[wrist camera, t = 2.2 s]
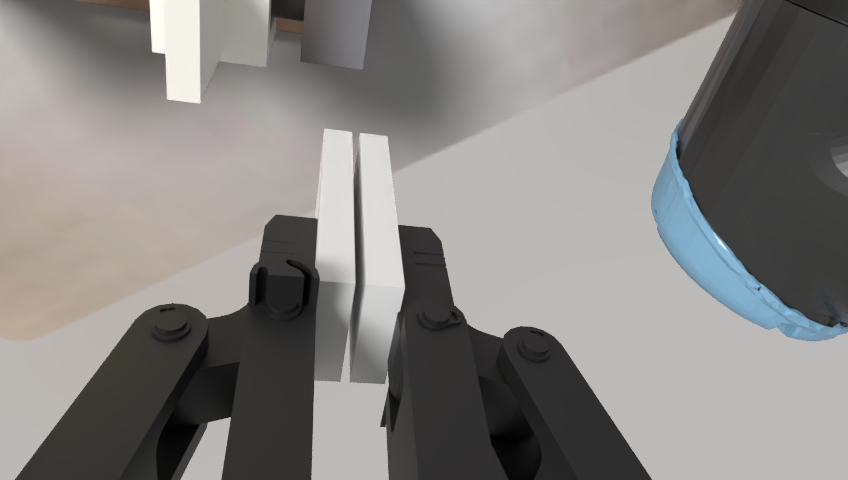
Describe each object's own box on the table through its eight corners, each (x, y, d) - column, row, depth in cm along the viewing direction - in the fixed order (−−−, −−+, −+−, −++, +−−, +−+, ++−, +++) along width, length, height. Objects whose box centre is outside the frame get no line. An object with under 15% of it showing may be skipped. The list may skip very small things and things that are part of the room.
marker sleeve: (281, -76, 32) (256, -13, 23) (275, 31, 35) (251, 124, 26) (172, -95, 31) (102, -37, 22) (176, 16, 34) (114, 107, 25)
